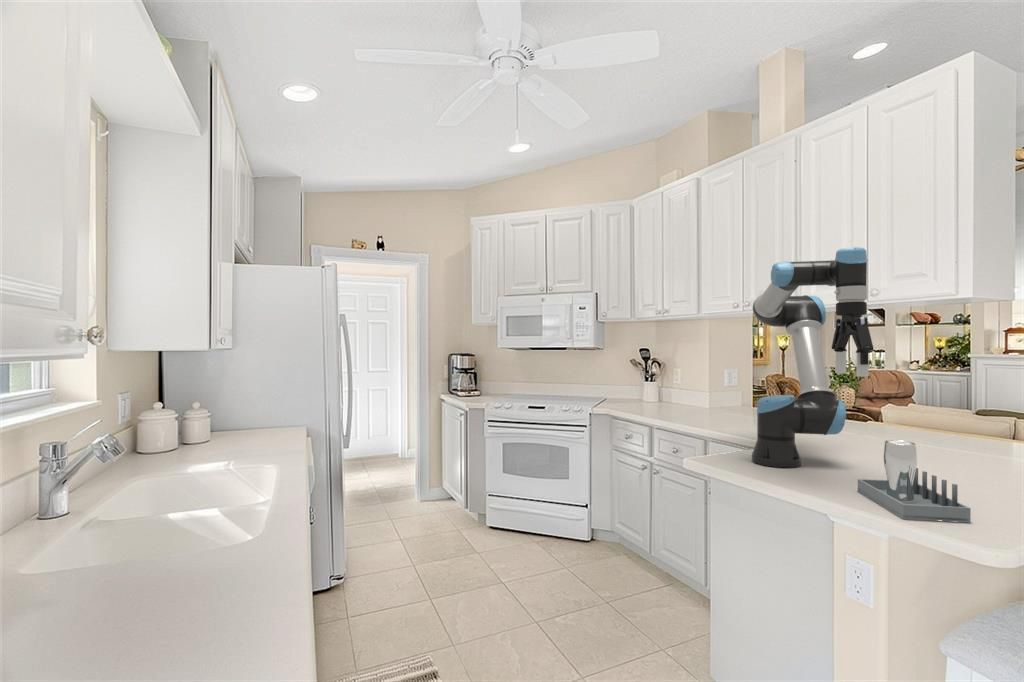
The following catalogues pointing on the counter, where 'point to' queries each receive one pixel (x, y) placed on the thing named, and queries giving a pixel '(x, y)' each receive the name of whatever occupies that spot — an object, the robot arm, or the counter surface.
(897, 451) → the beer glass
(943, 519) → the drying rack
